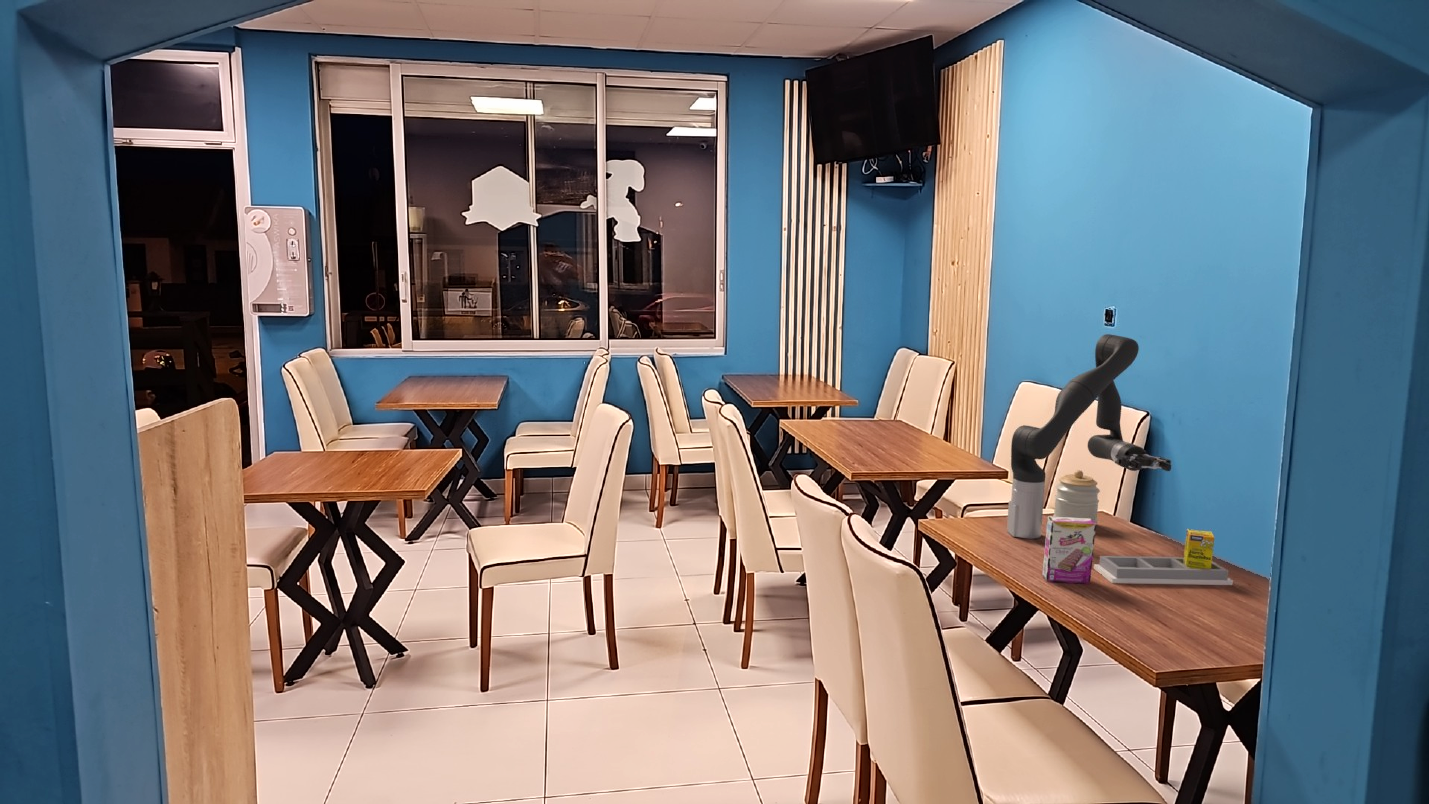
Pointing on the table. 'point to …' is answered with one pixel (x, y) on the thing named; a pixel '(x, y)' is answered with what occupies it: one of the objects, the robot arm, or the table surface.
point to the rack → (1159, 571)
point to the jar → (1077, 497)
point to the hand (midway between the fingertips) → (1154, 467)
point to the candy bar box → (1069, 549)
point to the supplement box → (1198, 549)
